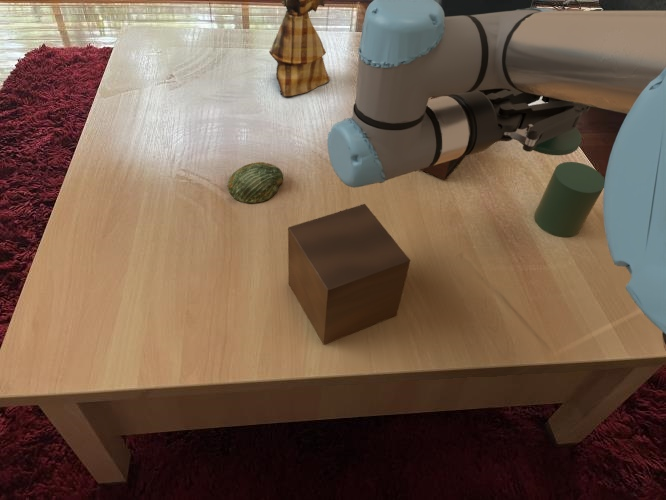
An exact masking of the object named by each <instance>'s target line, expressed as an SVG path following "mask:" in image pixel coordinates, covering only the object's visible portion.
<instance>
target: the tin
mask: <svg viewBox="0 0 666 500" xmlns="http://www.w3.org/2000/svg"><path fill="white" fill-rule="evenodd" d="M604 183H605V177H604V176H603V175H602V174H601V172H599V171H598V170H597V169H595V168H593V167H592V166H590V165H587V164H586V163H585V164H584V163H582V162H578V161H565V162H561V163H559V164H558V165H556V166H555V168H554V170H553V173H552V174H551V177H550V179H549V181H548V183H547V186H546V188H545V190H544V192H543V194H542V197H541V199H540V201H539V203H538V205H537V207H536V210H535V212H534V220H535V221H534V222H535V223H536V225H537V226H538V227H539V228H540V229H541V230H543V231H545V232H546V233H548V234H549V235H552V236H555V237H559V238H570V237H574V236H576V235H577V234H579V232H580V231H581V230H582V227H583V225H584V224H585V222H586V220H587V219H588V217H589V215H590V213H591V212H592V210H593V208H594V206H595V204H596V202H597V201H598V199H599V197H600V195H601V194H602V192H603V191H604Z"/></svg>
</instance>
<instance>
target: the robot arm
mask: <svg viewBox="0 0 666 500" xmlns="http://www.w3.org/2000/svg"><path fill="white" fill-rule="evenodd" d="M364 14H365V15H364V19H363V23H362V27H361V33H360V41H359V44H358V61H357V62H358V63H357V77H356V80H357V81H356V88H355V100H354V103H353V106H352V116H351V118H350V117H349V118H344V119H343V120H341V121H338V122H336V123H335V124H333V125H332V126H331V128H330V131H329V132H328V135H327V143H326V144H327V153H328V158H329V161H330V164H331V167H332V169H333V171H334V173H335V175H336V177H338V178H339V180H340V181H341V182H342V183H343V184H344V185H345V186H347V187H349V188H361V187H366V186H370V185H375V184H383V183H385V182H386V181H388V180H392V179H394V178H397V177H401V176H404V175H407V174H410V173H411V174H412V173H414V172H417V171H421V169H423V168H427V167H431V166H433V165H437V164H440V163H444V162H447V161H450V160H454V159H457V158H459V157H464V156H465V157H467V156H470V155H475V154H477V153H481V152H484V151H486V150H487V149H489V148H490V147H491V146H493V145H494V144H495V143H497V142H511V141H512V140H515V141H517V142H519V143H520V142H522V143H524V145H523V144H522V150H523V151H524V152H533V151H534V150H533V149H534V148H535V147H536V146H537V144H540V143H542V142H545V141H547V140H549V139H552V138H554V137H556V136H559V135H561V134H564V133H566V132H568V131H571V130H573V129H575V127H576V128H577V124H578V122H579V121H580V119H581V116H582V114H585V113H588V112H589V110H591V109H594V108H599V109H603V110H607V111H612V112H616V113H621V114H626V116H625V118H624V120H623V122H622V124H621V126H620V128H619V130H618V132H617V135H616V137H615V140H614V142H613V145H612V149H611V151H610V154H609V158H608V162H607V167H606V172H605V176H604V180H605V183H604V188H603V193H602V195H603V196H602V216H603V227H604V233H605V240H606V242H607V243H606V244H607V246H608V247H607V248H608V251H609V254H610V258H611V259H612V261H613V264H614V265H615V266H616V267H625V268H626V269H627V270H628V272H629V274H630V279H629V281H628V283H627V284H626V285H625V289H626V292H627V293H628V294H629V296H630V297H631V299H632V300H633V302H634V303H635V304H636V306H637V307H638V308H639V309H640V311H641V312H642V313H643V315H645V316H646V318H647V319H648V320H649V321H650V322H651V323H652V324H653V325H654V326H655V327H656V328H658V329H659V330H660V331H661V332H662V333H661V334H662V336H661V338H662V344H663V349H664V350H665V351H666V10H555V9H552V8H539V7H527V8H518V9H516V10H505V11H496V12H488V13H480V14H479V13H478V14H470V15H469V14H466V15H451V16H445V11H444V9H443V7H442V6H441V4H439V2H437V1H436V0H372V1H371V2H370V3H369V5H368V6H367V8H366V10H365V12H364ZM444 95H448V96H444ZM436 96H441V97H437V98H433V99H431V98H432V97H436ZM540 98H541V100H540ZM549 98H555V99H560V100H561V101H555V102H549V103H548V100H549ZM539 100H540V101H542V102H543V103H537V104H533V103H536V102H538V101H539ZM530 104H531V105H530Z"/></svg>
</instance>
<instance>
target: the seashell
mask: <svg viewBox="0 0 666 500" xmlns="http://www.w3.org/2000/svg"><path fill="white" fill-rule="evenodd" d="M283 182H284V173H283V172H282V170H281V169H280V168H279V167H278V166H276V165H275V164H272V163H269V162H265V161H264V162H260V161H259V162H251V163H248V164H245V165H242V166H241V167H239V168H238V169H236V170H235V171H234V172H233V173H231V175H230V177H229V179H228V181H227V190H228V191H229V192H228V193H229V194H230V195H231V197H233V199H234V200H236V201H239V202H241V203H246V204H255V203H261V202H265V201H267V200H270V199H271V198H272V197H273V196H275V194H276V193H277V192H278V189H279V186H280V185H281V184H283Z"/></svg>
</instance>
